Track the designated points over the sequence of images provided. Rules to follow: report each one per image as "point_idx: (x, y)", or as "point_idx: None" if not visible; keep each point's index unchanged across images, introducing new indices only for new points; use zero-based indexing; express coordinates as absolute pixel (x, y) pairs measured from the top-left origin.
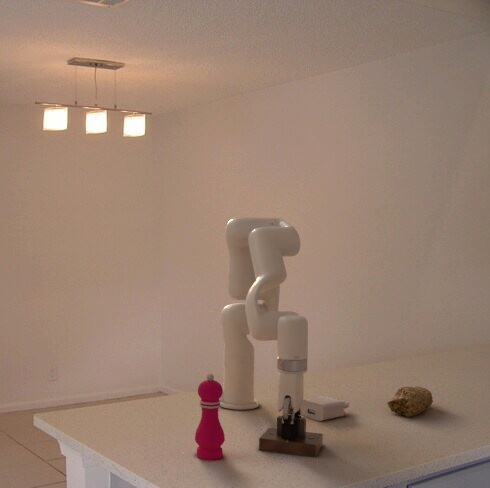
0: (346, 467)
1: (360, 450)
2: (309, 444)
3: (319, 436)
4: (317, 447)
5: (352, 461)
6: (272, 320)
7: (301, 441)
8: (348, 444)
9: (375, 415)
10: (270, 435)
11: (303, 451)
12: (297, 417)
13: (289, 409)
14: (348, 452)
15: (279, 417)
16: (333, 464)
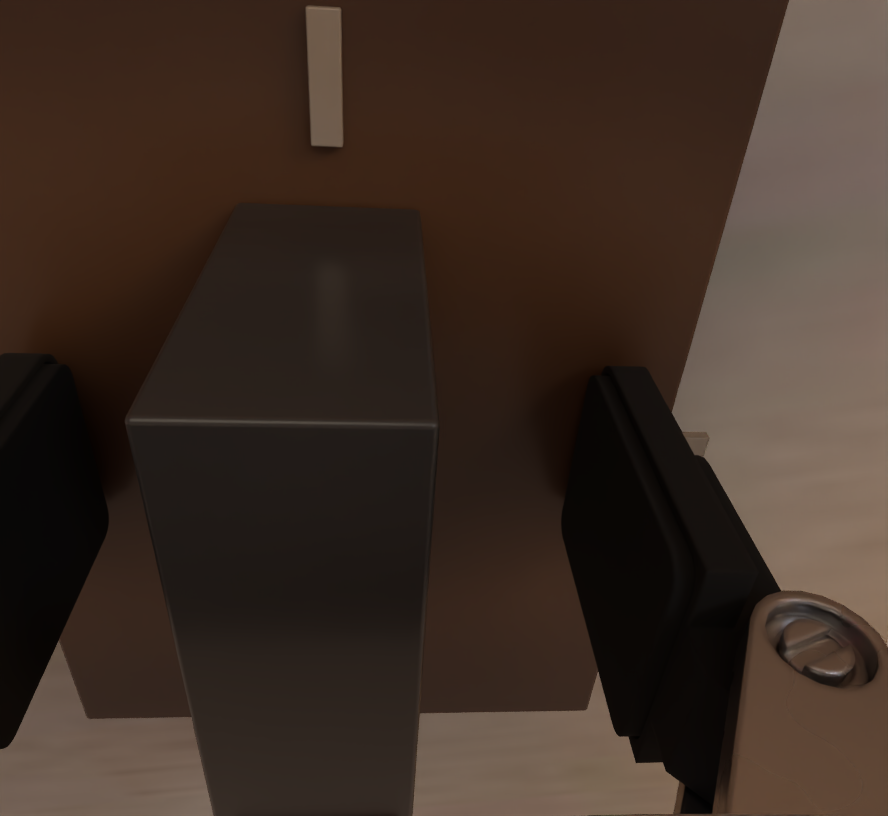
0: (13, 789)
1: (502, 803)
2: (73, 666)
3: (453, 705)
4: None
5: (192, 798)
6: None
7: (120, 589)
8: None
9: None
10: (159, 68)
11: None
12: (401, 789)
13: (731, 756)
14: (416, 759)
15: (174, 490)
16: (20, 724)
